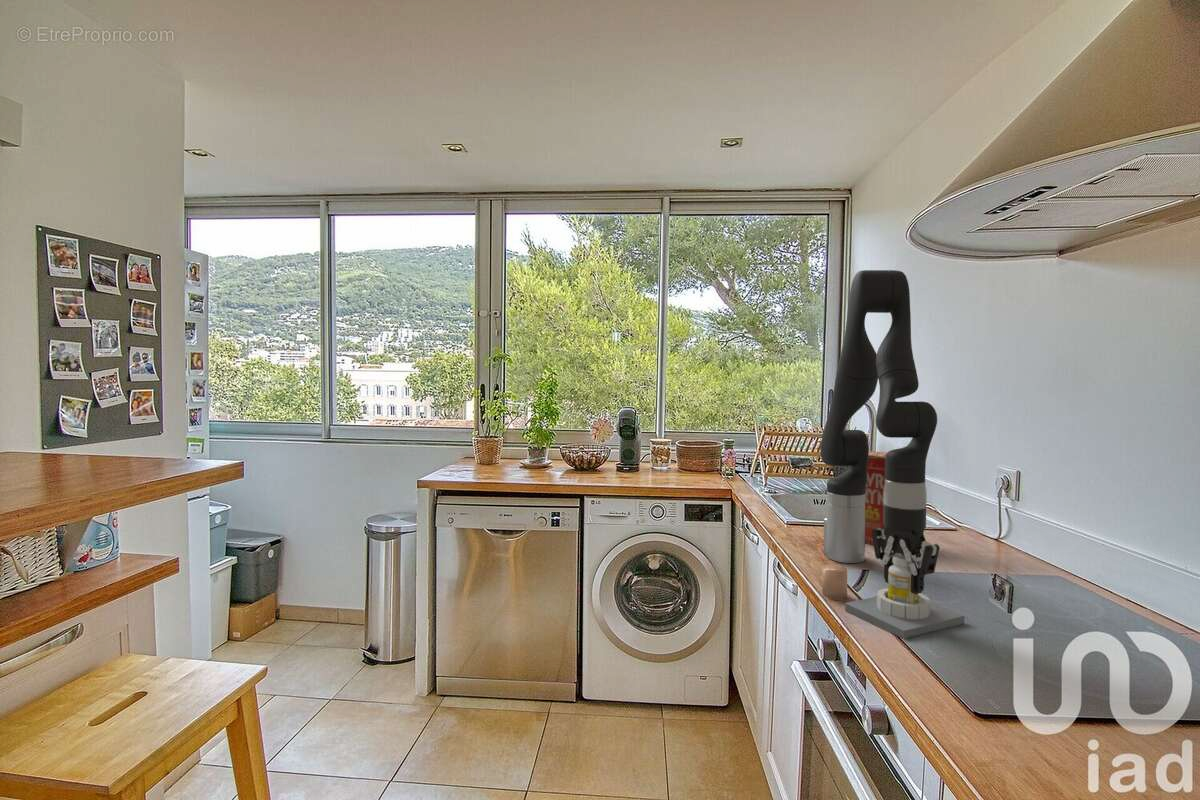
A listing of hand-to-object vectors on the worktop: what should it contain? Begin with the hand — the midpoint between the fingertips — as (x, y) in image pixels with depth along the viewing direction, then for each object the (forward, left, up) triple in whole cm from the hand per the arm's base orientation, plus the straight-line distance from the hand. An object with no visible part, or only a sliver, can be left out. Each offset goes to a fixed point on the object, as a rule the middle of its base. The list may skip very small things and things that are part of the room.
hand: (903, 587), depth 118 cm
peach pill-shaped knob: (-14, -4, -6) cm, 16 cm away
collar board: (0, 0, -6) cm, 6 cm away
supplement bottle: (0, 0, -4) cm, 4 cm away
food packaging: (-40, +36, -6) cm, 54 cm away
